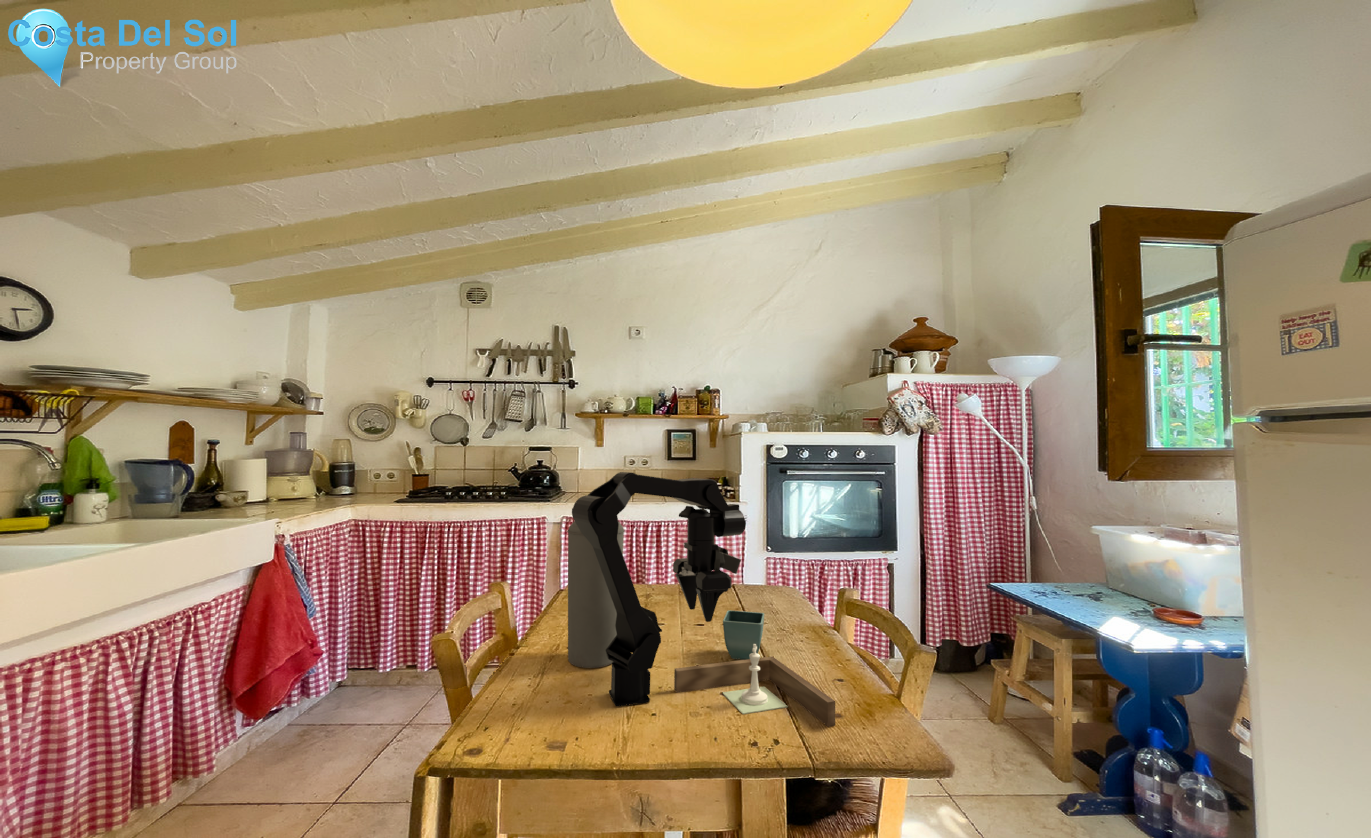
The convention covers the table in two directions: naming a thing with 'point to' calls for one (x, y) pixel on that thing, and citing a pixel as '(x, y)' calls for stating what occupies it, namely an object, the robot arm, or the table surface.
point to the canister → (588, 603)
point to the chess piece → (754, 683)
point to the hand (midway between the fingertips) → (700, 615)
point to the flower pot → (742, 632)
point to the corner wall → (769, 670)
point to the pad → (748, 708)
